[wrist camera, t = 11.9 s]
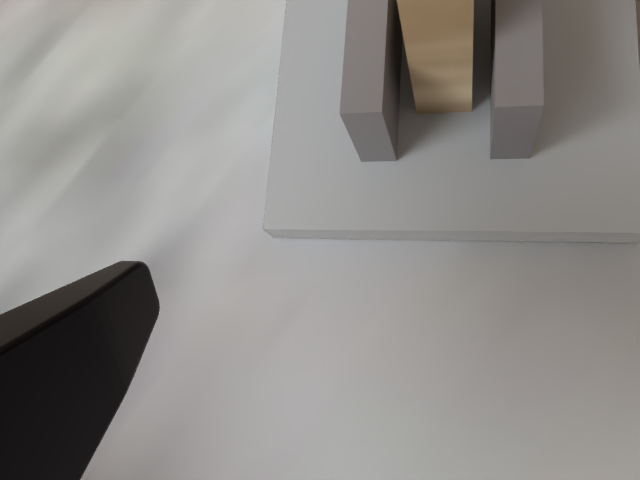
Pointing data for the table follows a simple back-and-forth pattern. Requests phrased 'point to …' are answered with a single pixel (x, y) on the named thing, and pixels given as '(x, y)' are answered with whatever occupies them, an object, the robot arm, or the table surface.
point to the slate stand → (459, 127)
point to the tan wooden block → (439, 53)
